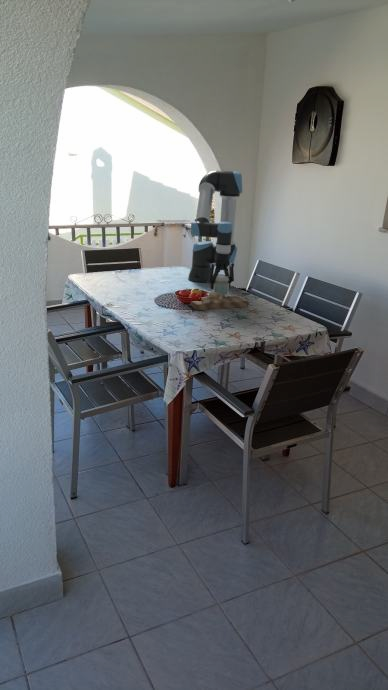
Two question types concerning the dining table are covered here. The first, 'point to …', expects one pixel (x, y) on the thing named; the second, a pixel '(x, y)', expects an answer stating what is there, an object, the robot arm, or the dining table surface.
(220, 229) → the robot arm
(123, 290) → the dining table surface
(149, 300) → the dining table surface
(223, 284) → the coffee cup
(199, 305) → the board
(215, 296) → the gauge
